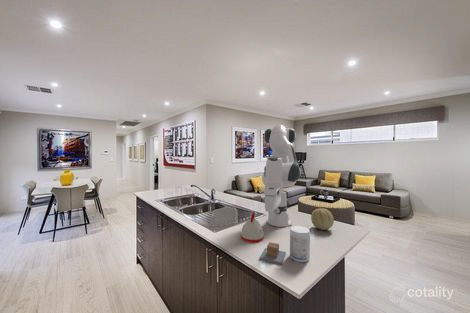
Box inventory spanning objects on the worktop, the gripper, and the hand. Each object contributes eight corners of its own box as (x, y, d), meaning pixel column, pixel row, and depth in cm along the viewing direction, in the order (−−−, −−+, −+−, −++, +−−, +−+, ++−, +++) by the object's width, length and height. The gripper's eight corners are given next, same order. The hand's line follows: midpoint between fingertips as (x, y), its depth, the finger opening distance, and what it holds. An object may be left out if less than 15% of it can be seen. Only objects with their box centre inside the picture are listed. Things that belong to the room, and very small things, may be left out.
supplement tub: (295, 251, 108) (295, 224, 108) (312, 257, 102) (313, 229, 101) (286, 258, 101) (286, 229, 101) (304, 265, 95) (305, 234, 94)
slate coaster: (265, 250, 109) (265, 247, 109) (285, 254, 105) (285, 251, 105) (259, 259, 99) (259, 257, 99) (281, 264, 95) (281, 262, 95)
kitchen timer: (264, 234, 130) (265, 211, 130) (261, 243, 117) (262, 218, 117) (243, 232, 134) (244, 209, 134) (238, 240, 120) (239, 216, 120)
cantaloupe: (331, 235, 130) (331, 212, 130) (308, 229, 139) (308, 208, 139) (335, 228, 142) (336, 207, 142) (314, 223, 151) (314, 204, 151)
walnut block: (269, 251, 105) (269, 241, 105) (278, 253, 103) (279, 243, 103) (266, 255, 101) (267, 245, 101) (276, 257, 99) (277, 247, 99)
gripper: (272, 185, 112) (271, 209, 113) (262, 191, 94) (262, 221, 94) (283, 186, 110) (283, 211, 110) (276, 193, 91) (275, 223, 91)
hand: (273, 216), depth 102 cm, fingers open, 8 cm apart
